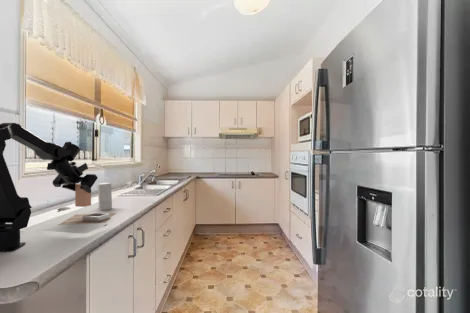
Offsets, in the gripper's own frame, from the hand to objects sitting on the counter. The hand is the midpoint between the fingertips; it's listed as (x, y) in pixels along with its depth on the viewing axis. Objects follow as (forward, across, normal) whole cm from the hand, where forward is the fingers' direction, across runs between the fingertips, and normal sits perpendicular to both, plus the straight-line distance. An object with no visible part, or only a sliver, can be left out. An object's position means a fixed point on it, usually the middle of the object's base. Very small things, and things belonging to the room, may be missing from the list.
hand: (85, 192), depth 115 cm
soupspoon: (+15, +22, +4) cm, 26 cm away
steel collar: (+6, -8, +10) cm, 14 cm away
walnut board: (+8, -4, +11) cm, 14 cm away
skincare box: (+22, +5, -4) cm, 23 cm away
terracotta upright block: (+3, 0, +5) cm, 6 cm away
